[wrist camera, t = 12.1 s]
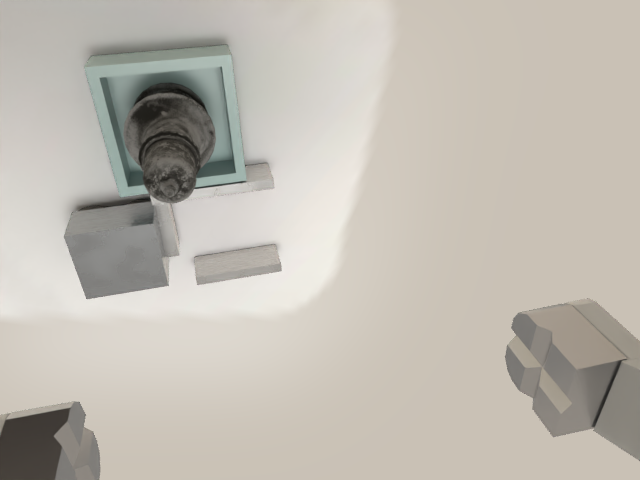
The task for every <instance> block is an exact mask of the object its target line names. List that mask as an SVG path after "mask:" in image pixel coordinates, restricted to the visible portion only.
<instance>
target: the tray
mask: <svg viewBox="0 0 640 480" xmlns="http://www.w3.org/2000/svg"><path fill="white" fill-rule="evenodd" d="M84 69H85V72H86V76H87V79H88V83H89V87H90V90H91V94H92V97H93V101H94V105H95V108H96V112H97V116H98V119H99V123H100V126H101V130H102V134H103V137H104V141H105V145H106V148H107V152H108V155H109V159H110V163H111V166H112V170H113V174H114V177H115V181H116V184H117V188H118V192H119V195H120V197H126V196H134V195H141V194H149V193H148V192H147V190H146V188H145V186H144V182H143V171H142V169H141V167H140V166H139V165H138V164H137V163H136V162H135V161H134V159H133V158H132V157H131V156H130V154H129V152H128V150H127V148H126V146H125V141H124V136H123V132H124V123H125V120H126V118H127V116H128V113H129V111H130V110H131V109H132V108H133V106H134V104H135V101H136V99H137V98H138V97H139V95H140V94H141V93H142V92H143V91H144V90H146V89H147V88H149V87H150V86H153V85H156V84H159V83H175V84H180V85H183V86H185V87H187V88H189V89H191V90H192V91H193V92H194V93H196V94H197V95H198V96H199V97H200V99H201V100H202V102H203V103H204V105H205V107H206V110H207V112H208V115H209V116H210V117H211V120H212V122H213V125H214V127H215V135H216V142H215V148H214V151H213V153H212V155H211V157H210V159H209V161H208V162H207V163H206V164H205V165H204V166H203V167H202V168H201V169H200V170H199V172H198V174H197V175H196V180H197V181H196V186H195V187H202V186H209V185H217V184H224V183H232V182H239V181H247V179H246V171H245V162H244V154H243V146H242V138H241V129H240V121H239V113H238V105H237V96H236V88H235V80H234V72H233V63H232V55H231V52H230V50H229V48H228V45H217V46H205V47H193V48H181V49H169V50H157V51H145V52H133V53H121V54H109V55H97V56H91V57H90V58H89V60H88V62H87V63H86V65H85V67H84Z"/></svg>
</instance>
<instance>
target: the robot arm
mask: <svg viewBox="0 0 640 480" xmlns="http://www.w3.org/2000/svg"><path fill="white" fill-rule="evenodd" d="M512 330H513V331H514V332H515V334H516V336H515V337H514V338H513V339H512V340H511V341H510V342H509V344H508V345H507V350H506V356H505V358H506V364H507V369H508V372H509V375H510V377H511V379H512V381H513V382H514V384H515V385H516V387H517V388H518V390H519V391H521V392H522V393H524V394H526V395H528V396H530V397H532V398H533V410H534V412H535V413H536V414H537V416H538V417H539V418H540V420H541V421H542V423H543V424H544V425H545V427H546V428H547V429H548V430H549V432H550V433H551V435H552V436H553V437H556V436H561V435H566V434H570V433H575V432H579V431H584V430H588V429H593V428H594V431H595V432H596V433H598V434H600V435H601V436H602V437H604V438H606V439H607V440H609V441H610V442H612V443H613V444H615V445H616V446H618V447H619V448H621V449H623V450H624V451H626V452H627V453H629V454H630V455H632V456H633V457H635V458H636V459H638V460H639V461H640V341H639V340H638V339H636V338H635V337H634V336H633V335H632V334H631V333H630V332H629V331H628V330H627V329H626V328H624V327H623V326H622V325H621V324H620V323H619V322H618V321H617V320H616V319H614V318H613V317H612V316H611V315H610V314H609V313H608V312H607V311H606V310H605V309H603V308H602V307H601V306H600V305H599V304H598V303H597V302H595V301H593V300H591V299H588V298H587V299H582V300H577V301H573V302H568V303H564V304H558V305H553V306H548V307H543V308H539V309H534V310H529V311H525V312H520V313H518V314H517V315H516V316H515V317H514V319H513V323H512ZM85 416H86V414H85V412H84V410H83V408H82V406H81V404H80V402H68V403H62V404H57V405H51V406H45V407H39V408H34V409H28V410H22V411H17V412H12V413H9V414H3V415H0V480H99V478H100V453H99V449H98V444H97V440H96V438H95V435H94V433H93V431H90V430H88V429H86V428H85V427H84V422H85Z"/></svg>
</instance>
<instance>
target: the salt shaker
mask: <svg viewBox="0 0 640 480" xmlns="http://www.w3.org/2000/svg"><path fill="white" fill-rule="evenodd" d="M123 136H124V141H125V146H126V148H127V150H128V152H129V154H130V156H131V157H132V158H133V159H134V161H135V162H136V163H137V164H138V165H139V166H140V167H141V169H142V171H143V182H144V186H145V188H146V190H147V192H148V193H149V194H150V195H151V196H152V197H154V198H155V199H157V200H159V201H161V202H165V203H177V202H181V201H183V200H185V199H187V198H188V197H189V196H190V195H191V194H192V192H193V190H194V188H195V186H196V181H197V180H196V175H197V174H198V172H199V170H200V169H201V168H202V167H203V166H204V165H205V164H206V163H207V162H208V161H209V159H210V157H211V155H212V153H213V151H214V148H215V142H216V135H215V127H214V125H213V122H212V120H211V117H210V116H209V115H208V112H207V110H206V107H205V105H204V103H203V102H202V100H201V99H200V97H199V96H198V95H197V94H196V93H194V92H193V91H192V90H191V89H189V88H187V87H185V86H183V85H180V84H175V83H159V84H156V85H153V86H150V87H149V88H147V89H146V90H144V91H143V92H142V93H141V94H140V95H139V97H138V98H137V99H136V101H135V104H134V106H133V108H132V109H131V110H130V111H129V113H128V116H127V118H126V120H125V123H124V132H123Z"/></svg>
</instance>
